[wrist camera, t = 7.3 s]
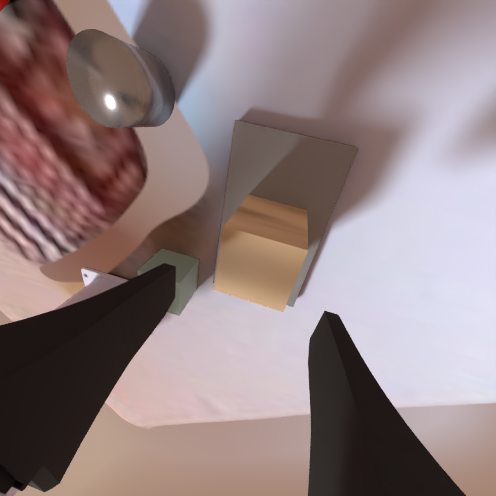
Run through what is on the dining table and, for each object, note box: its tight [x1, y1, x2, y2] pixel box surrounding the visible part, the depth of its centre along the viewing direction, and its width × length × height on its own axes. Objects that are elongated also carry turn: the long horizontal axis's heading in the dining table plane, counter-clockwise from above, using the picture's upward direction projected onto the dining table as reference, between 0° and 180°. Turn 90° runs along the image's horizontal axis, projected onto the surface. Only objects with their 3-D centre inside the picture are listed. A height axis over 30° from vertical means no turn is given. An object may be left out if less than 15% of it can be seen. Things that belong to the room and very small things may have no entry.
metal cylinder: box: [66, 29, 175, 128], centre depth 14 cm, size 4×4×4 cm
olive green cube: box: [137, 248, 199, 315], centre depth 22 cm, size 4×4×4 cm
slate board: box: [213, 120, 358, 307], centre depth 18 cm, size 14×8×1 cm, turn 169°
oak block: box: [213, 194, 308, 312], centre depth 15 cm, size 4×4×6 cm
